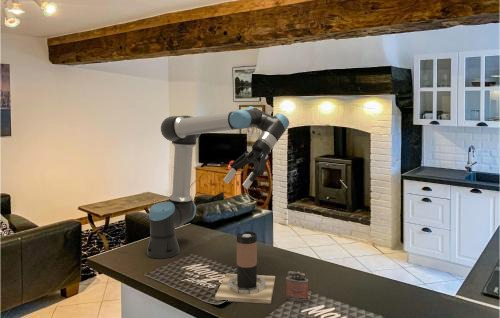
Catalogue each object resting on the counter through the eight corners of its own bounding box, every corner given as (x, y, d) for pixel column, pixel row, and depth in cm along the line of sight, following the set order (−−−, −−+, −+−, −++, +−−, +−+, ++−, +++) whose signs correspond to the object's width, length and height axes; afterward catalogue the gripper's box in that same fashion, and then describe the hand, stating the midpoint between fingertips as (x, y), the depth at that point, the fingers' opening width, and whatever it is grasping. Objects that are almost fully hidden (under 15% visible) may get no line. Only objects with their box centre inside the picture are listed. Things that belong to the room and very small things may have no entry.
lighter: (309, 298, 145) (309, 271, 143) (307, 302, 141) (307, 275, 140) (287, 295, 147) (287, 269, 146) (284, 299, 144) (285, 272, 143)
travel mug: (254, 290, 147) (254, 238, 145) (234, 289, 149) (234, 236, 146) (258, 282, 155) (258, 231, 152) (239, 280, 156) (239, 230, 154)
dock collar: (232, 276, 160) (231, 273, 159) (267, 278, 158) (267, 275, 157) (224, 292, 146) (224, 289, 146) (263, 295, 144) (263, 291, 144)
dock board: (226, 277, 163) (226, 273, 163) (275, 279, 160) (275, 276, 160) (215, 300, 143) (214, 296, 143) (270, 303, 141) (270, 299, 140)
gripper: (288, 153, 160) (259, 195, 153) (251, 148, 180) (223, 185, 173) (278, 140, 156) (248, 183, 149) (241, 137, 176) (212, 174, 169)
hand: (234, 184), depth 161 cm, fingers open, 13 cm apart
